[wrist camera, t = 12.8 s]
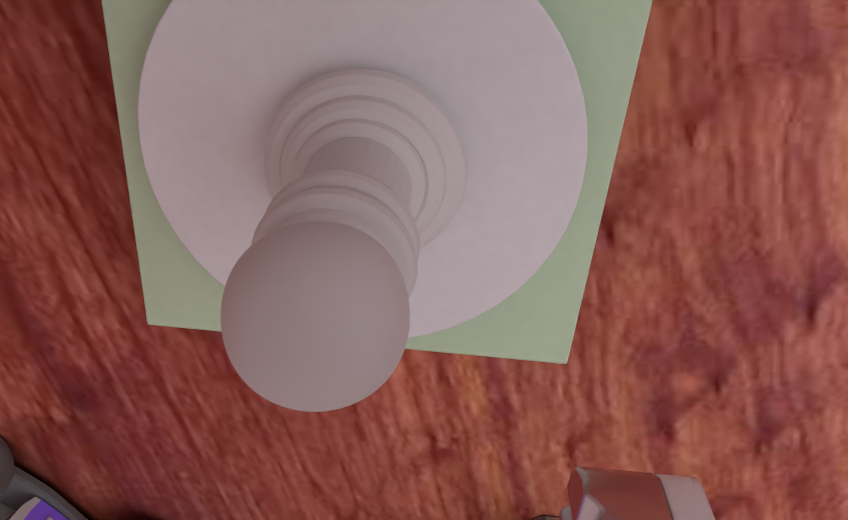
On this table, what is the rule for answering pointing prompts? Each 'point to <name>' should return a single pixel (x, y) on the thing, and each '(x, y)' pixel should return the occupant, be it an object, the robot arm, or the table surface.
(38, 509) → the toy race car
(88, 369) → the table surface
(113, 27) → the scale
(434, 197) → the chess piece
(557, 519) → the mug
